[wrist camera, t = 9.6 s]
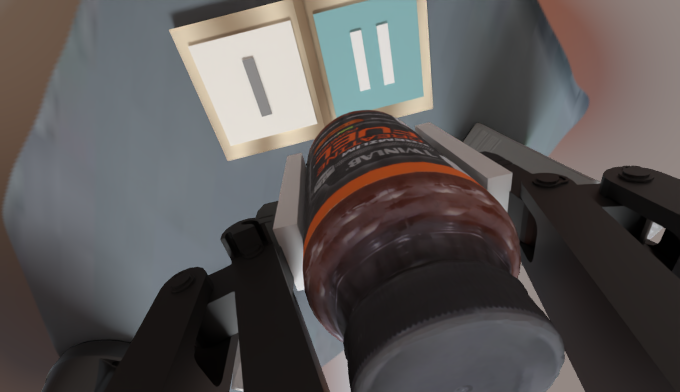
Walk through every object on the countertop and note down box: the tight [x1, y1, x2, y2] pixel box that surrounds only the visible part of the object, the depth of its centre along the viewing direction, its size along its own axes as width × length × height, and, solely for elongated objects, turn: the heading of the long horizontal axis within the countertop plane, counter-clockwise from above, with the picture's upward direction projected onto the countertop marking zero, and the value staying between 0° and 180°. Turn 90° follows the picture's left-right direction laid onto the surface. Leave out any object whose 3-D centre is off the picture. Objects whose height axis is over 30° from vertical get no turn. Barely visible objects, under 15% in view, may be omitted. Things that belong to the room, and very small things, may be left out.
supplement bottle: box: [303, 110, 565, 392], centre depth 10 cm, size 6×6×11 cm
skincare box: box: [463, 123, 663, 240], centre depth 27 cm, size 8×7×16 cm
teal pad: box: [313, 0, 424, 118], centre depth 26 cm, size 9×9×1 cm
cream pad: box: [188, 21, 317, 146], centre depth 26 cm, size 9×9×1 cm
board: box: [169, 0, 433, 161], centre depth 26 cm, size 22×12×2 cm, turn 103°
